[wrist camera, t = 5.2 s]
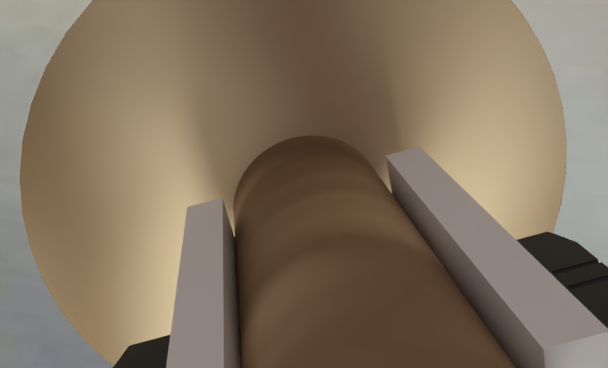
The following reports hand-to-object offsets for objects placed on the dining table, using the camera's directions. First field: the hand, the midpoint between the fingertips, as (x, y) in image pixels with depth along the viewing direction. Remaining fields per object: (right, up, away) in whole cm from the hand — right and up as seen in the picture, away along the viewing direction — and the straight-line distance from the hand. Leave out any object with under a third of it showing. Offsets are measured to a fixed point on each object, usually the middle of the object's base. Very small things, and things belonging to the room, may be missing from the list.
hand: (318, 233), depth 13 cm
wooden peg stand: (0, +1, +2) cm, 2 cm away
